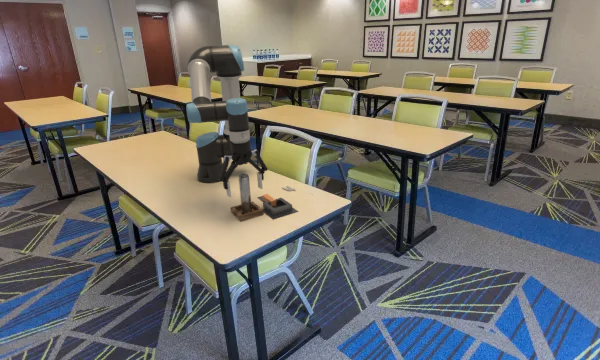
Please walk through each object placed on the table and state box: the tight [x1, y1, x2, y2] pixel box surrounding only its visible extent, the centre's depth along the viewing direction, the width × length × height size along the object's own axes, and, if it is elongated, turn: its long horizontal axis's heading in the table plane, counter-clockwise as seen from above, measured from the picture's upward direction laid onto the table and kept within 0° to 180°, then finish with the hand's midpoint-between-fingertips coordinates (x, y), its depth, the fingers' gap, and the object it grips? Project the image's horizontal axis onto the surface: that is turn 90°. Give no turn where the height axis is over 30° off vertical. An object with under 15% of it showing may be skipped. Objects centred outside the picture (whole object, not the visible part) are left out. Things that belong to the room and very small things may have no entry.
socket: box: [256, 195, 299, 221], centre depth 152 cm, size 23×12×3 cm, turn 32°
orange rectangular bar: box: [261, 193, 276, 206], centre depth 154 cm, size 8×2×2 cm, turn 32°
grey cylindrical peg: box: [238, 173, 252, 214], centre depth 142 cm, size 4×4×17 cm
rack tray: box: [230, 200, 265, 222], centre depth 145 cm, size 10×10×3 cm
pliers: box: [281, 185, 312, 195], centre depth 164 cm, size 10×2×15 cm
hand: (245, 192), depth 142 cm, fingers open, 13 cm apart
